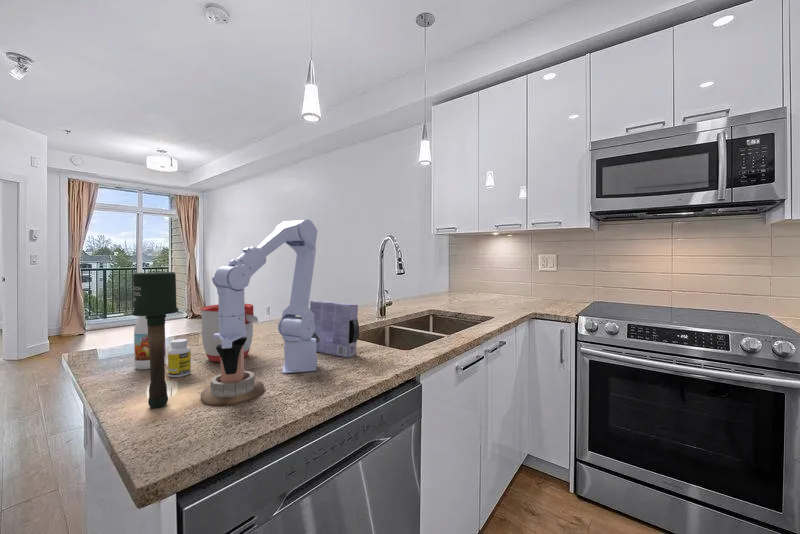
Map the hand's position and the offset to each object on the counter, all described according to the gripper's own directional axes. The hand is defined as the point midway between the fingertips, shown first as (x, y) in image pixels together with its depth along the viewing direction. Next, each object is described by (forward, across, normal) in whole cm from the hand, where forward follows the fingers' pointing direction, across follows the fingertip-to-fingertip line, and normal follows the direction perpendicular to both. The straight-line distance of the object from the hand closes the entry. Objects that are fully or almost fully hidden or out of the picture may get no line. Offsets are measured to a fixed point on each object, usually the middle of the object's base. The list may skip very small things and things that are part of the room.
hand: (232, 370), depth 86 cm
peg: (+2, 0, 0) cm, 2 cm away
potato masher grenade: (+6, +3, -15) cm, 16 cm away
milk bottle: (+6, -30, -28) cm, 41 cm away
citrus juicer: (+6, -33, -6) cm, 34 cm away
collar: (+6, 0, 0) cm, 6 cm away
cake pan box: (+6, -29, +27) cm, 40 cm away
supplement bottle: (+6, -19, -17) cm, 26 cm away
